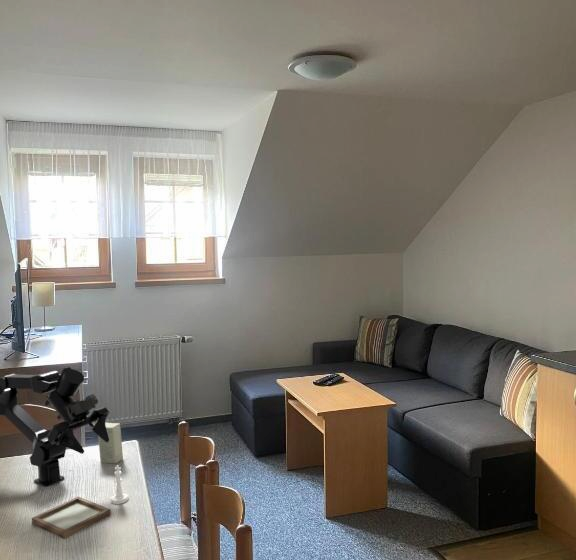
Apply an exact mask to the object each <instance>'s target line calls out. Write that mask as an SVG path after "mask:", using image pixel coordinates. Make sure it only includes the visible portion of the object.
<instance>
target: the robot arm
mask: <svg viewBox="0 0 576 560" xmlns="http://www.w3.org/2000/svg"><path fill="white" fill-rule="evenodd" d="M84 380H85V376H84V374H83V373H82V372H80V371H78V370H77V369H72V368H71V367H70V366H68V367H64V368H62V371H61V374H60V373H59V372H58V371H57V370H51V371H47V372H44V373H40V374H17V373H10V374H7V375H3V376H0V416H3V417H5V418H6V419H7V420H8V421H10V423H12V424H13V426H15V427H16V428H17V429H18V430H19V431H20V432H21V433H22V434H23V435H24V436H25V437H26V438H27V440H29V441H30V442H31V444H32V452H33V453H32V454H31V455H30V457H29V461H30V465H32V466H36V467H37V473H38V478H35V479H34V480H33V481H34V483H37V484H38V485H41V486H44V487H48V486H51V485H52V484H56V483H57V482H60V481H62V480H64V479H65V476H64V475H61V471H60V470H61V469H60V461H59V459H62V458H65V456H66V450H67V448H69V449H71V450H73V451H74V452H76V453H79V454H80V455H81V454H82V455H83V454H84V453H85V450H84V448H83V446H82V444H81V443H80V442H79V440H78V439H77V438H76V436H75V435H74V431H75V430H77V429H79V428H81V427H85V426H87V425H88V426H89V427H91V428H92V429H91V430H92V431H93V432H94V433H95V434H96V435H97V436H99V437H101V438H102V439H103V440H104V441H105V442H109V437H108V433H107V430H106V425H105V422H106V420H107V418H108V416H109V414H110V413H111V412H110V411H109V410H108V409H107V407H106V406H102V407H99V408H97V409H95V408H96V405H98V403H99V400H98V397H96V396H95V394H89V395H87V396H86V397H85V398H84V399H82V400H75V399H74V398H73V396H75V395H76V393H78V390H79V388H81V385H82V384H83V383H84ZM22 389H23V390H31V391H32V392H33V393H35V394H39V395H44V394H46V393H49V394H48V395H45V402H44V405H45V406H46V407H48V406H50V405H51V406H52V407H53V409H54V410H55V412H56V413H57V414H58V415H57V417H56V418H57V420H58V421H60V420H62V422H59V423H57V424H54V425H53V426H52V428H49V429H48V430H46V429H45V428H44V427H43V426H42V425H41V424H40V423H38V421H36V420H35V418H33V417H32V416H31V415H30V414H29V413H28V412H27V411H26V410H25V409H24V408H23V407H21V406H20V405H19V403H18V402H19V401H18V394H19V390H22ZM92 409H94V410H93V411H92V413H91V414H90V410H92ZM89 414H90V415H89ZM88 415H89V416H88Z"/></svg>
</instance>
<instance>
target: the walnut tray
mask: <svg viewBox="0 0 576 560" xmlns="http://www.w3.org/2000/svg"><path fill="white" fill-rule="evenodd" d="M111 514H112V513H111V508H109V507H106V506H103V505H101V504H99V503H96V502H94V501H91V500H89V499H85V498H83V497H81V496H75V497H74V498H71V499H69V500H68V501H65V502H63V503H61V504H58V505H56V506H55V507H52V508H49V509H48V510H46V511H43V512H42V513H38V514H37V515H35V516H33V517H31V525H33V526H36V527H38V528H40V529H43V530H44V531H47V532H48V533H51V534H52V535H55V536H58V537H60V538H62V539H64V540H65V539H67V538H69V537H70V536H73V535H75V534H76V533H79V532H81V531H82V530H84V529H86V528H89V527H90V526H92V525H94V524H96V523H98V522H100V521H102V520H104V519H105V518H107V517H109V516H111Z"/></svg>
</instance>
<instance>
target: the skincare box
mask: <svg viewBox="0 0 576 560" xmlns="http://www.w3.org/2000/svg"><path fill="white" fill-rule="evenodd" d="M105 425H106V430H107V433H108V437H109V442H105V441H104V440H103V439H102V438H101V437H99V436H98V435H97V436H98V450H99V458H100V463H109V464H117V463H118V462H120V461H122V459H124V455H123V454H124V453H123V443H122V441H123V440H122V430H121V423H118V422H106V421H105Z"/></svg>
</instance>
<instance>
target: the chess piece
mask: <svg viewBox="0 0 576 560" xmlns="http://www.w3.org/2000/svg"><path fill="white" fill-rule="evenodd" d="M121 469H122V467H119V465H118V464H117V465H116V466H115V467H114V470H116V471H114V477H115V480H114V483H116V492H115V494H114V495H112V496H111V497H110V503H112V504H113V505H117V504H118V505H119V504H120V505H121V504H123V503H125V502H127V501H128V500H129V495H128V494H127V493H124V492H123V490H122V482H123V478H121V477H122V471H121Z"/></svg>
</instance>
